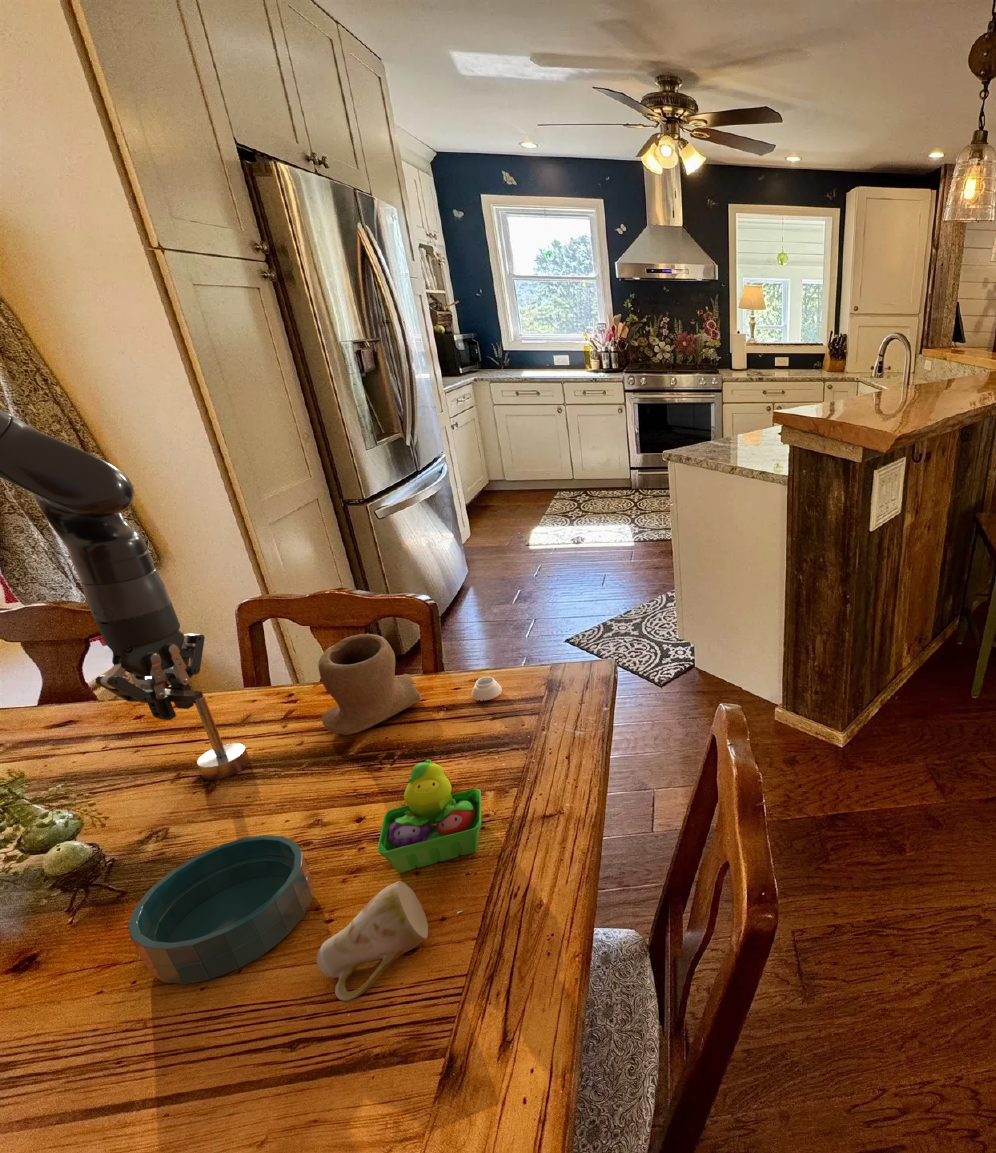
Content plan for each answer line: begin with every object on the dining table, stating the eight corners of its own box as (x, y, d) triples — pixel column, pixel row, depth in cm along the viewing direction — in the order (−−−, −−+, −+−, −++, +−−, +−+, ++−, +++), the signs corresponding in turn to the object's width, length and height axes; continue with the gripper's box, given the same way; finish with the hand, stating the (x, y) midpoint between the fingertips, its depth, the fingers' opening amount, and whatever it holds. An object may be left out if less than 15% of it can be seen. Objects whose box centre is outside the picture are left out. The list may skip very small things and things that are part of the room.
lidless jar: (490, 704, 109) (507, 689, 114) (487, 690, 108) (505, 676, 113) (466, 700, 110) (484, 685, 115) (463, 686, 109) (481, 672, 114)
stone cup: (349, 751, 97) (325, 669, 91) (315, 724, 103) (290, 646, 97) (441, 706, 108) (425, 631, 103) (406, 684, 114) (389, 612, 109)
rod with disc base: (259, 756, 95) (232, 684, 90) (227, 781, 90) (197, 706, 85) (187, 751, 96) (157, 679, 90) (152, 776, 90) (117, 701, 85)
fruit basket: (385, 885, 74) (363, 814, 70) (393, 833, 82) (375, 765, 77) (487, 857, 78) (473, 787, 74) (486, 810, 86) (473, 744, 82)
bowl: (110, 982, 63) (86, 941, 60) (233, 867, 76) (218, 830, 74) (242, 995, 62) (224, 954, 60) (343, 876, 75) (331, 839, 73)
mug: (313, 958, 66) (345, 867, 66) (412, 956, 71) (441, 871, 71) (302, 1007, 59) (337, 906, 60) (412, 1001, 64) (444, 908, 65)
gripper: (157, 584, 89) (196, 685, 96) (46, 627, 76) (101, 741, 83) (205, 586, 89) (242, 688, 95) (102, 631, 76) (153, 744, 82)
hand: (176, 712), depth 89 cm, fingers closed
